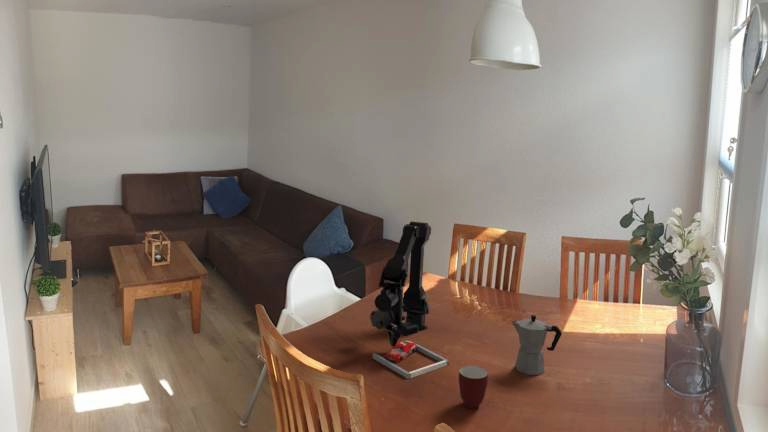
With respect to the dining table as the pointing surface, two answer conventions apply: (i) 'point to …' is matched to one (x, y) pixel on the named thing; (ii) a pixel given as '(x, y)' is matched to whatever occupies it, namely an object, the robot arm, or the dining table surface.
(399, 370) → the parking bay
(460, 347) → the dining table surface
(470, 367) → the mug
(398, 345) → the race car
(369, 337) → the dining table surface
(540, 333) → the coffeepot
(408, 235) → the robot arm
